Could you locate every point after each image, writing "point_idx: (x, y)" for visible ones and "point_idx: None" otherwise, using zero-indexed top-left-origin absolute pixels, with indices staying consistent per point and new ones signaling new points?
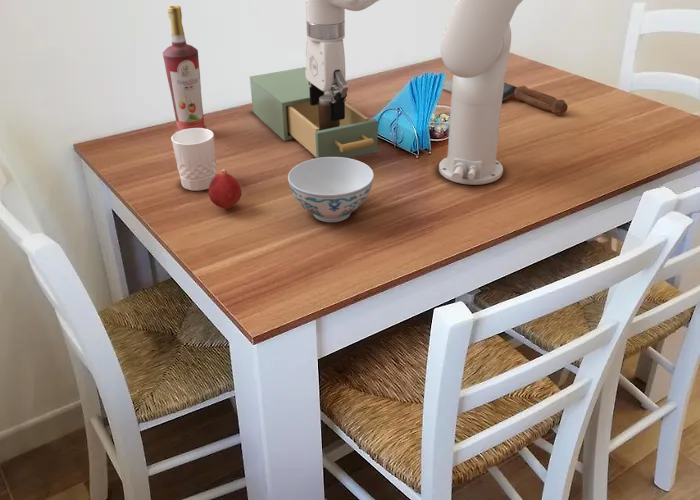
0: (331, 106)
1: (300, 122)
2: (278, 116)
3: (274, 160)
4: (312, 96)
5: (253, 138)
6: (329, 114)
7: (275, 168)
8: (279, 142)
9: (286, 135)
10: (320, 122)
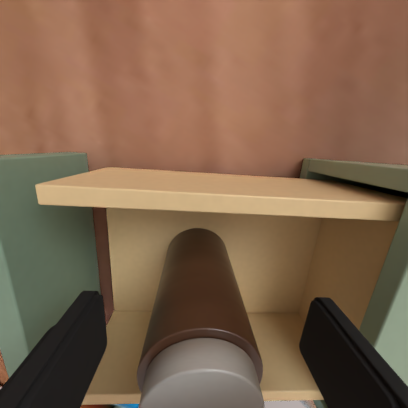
0: (16, 379)
1: (235, 188)
2: (398, 166)
3: (200, 61)
4: (343, 345)
5: (384, 83)
6: (152, 314)
7: (143, 32)
8: (305, 141)
9: (310, 167)
10: (194, 259)
